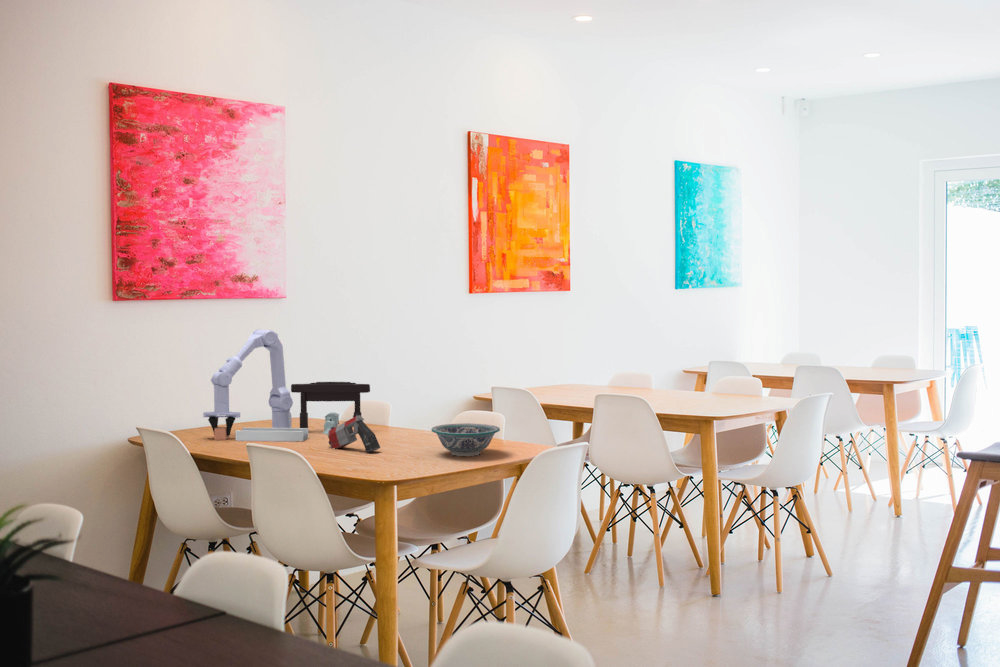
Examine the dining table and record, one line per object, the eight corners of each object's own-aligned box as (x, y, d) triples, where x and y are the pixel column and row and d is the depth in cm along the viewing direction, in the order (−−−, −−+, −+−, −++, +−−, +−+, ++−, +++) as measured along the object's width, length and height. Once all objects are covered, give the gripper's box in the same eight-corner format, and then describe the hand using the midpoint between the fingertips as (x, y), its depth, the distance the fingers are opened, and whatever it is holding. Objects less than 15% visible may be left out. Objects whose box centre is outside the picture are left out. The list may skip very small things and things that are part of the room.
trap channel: (242, 437, 391) (242, 427, 390) (308, 438, 389) (308, 428, 388) (235, 440, 382) (235, 430, 382) (302, 441, 380) (302, 431, 380)
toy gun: (343, 466, 368) (331, 429, 371) (382, 446, 357) (368, 409, 360) (334, 468, 364) (321, 431, 367) (373, 448, 353) (359, 410, 356)
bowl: (429, 460, 340) (429, 433, 340) (433, 448, 365) (433, 423, 365) (500, 460, 341) (500, 433, 340) (499, 448, 366) (499, 423, 365)
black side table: (367, 384, 395) (286, 384, 395) (367, 435, 396) (287, 435, 396) (372, 380, 411) (294, 380, 411) (372, 429, 412) (295, 429, 412)
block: (229, 438, 389) (218, 437, 389) (229, 426, 389) (218, 426, 389) (225, 439, 384) (214, 439, 385) (225, 428, 384) (214, 428, 384)
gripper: (200, 402, 383) (200, 436, 383) (235, 403, 382) (236, 437, 382) (206, 400, 390) (207, 433, 390) (241, 400, 389) (242, 434, 389)
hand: (222, 435), depth 387 cm, fingers closed on block, 4 cm apart
